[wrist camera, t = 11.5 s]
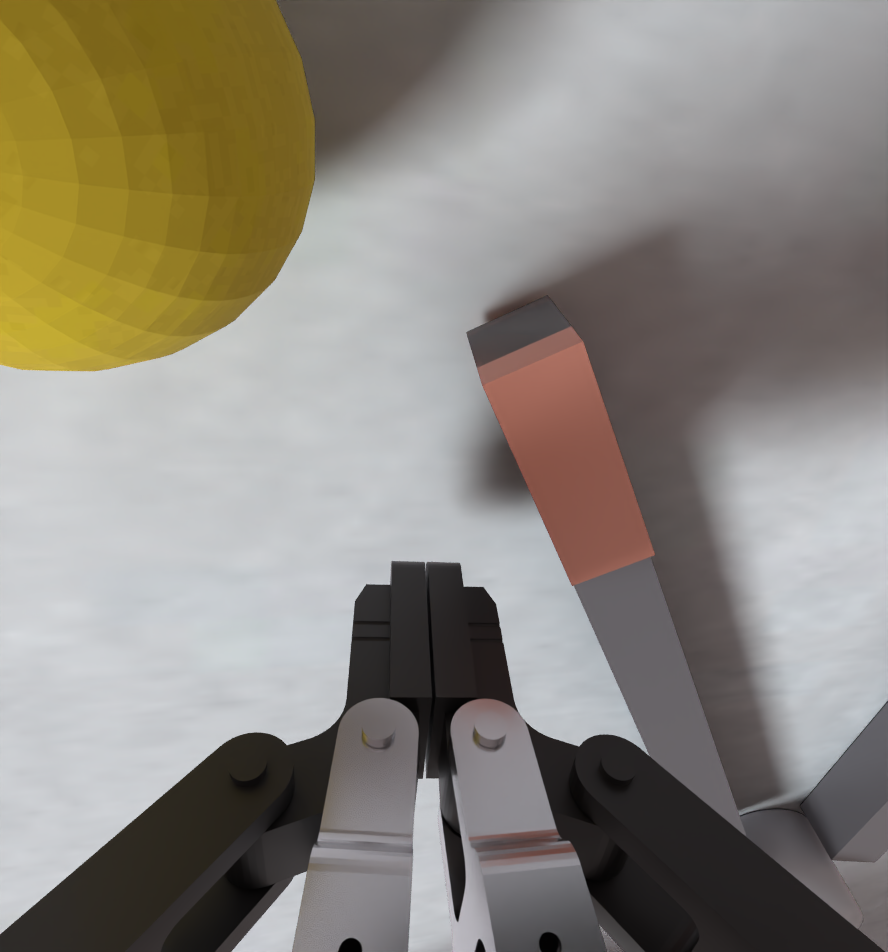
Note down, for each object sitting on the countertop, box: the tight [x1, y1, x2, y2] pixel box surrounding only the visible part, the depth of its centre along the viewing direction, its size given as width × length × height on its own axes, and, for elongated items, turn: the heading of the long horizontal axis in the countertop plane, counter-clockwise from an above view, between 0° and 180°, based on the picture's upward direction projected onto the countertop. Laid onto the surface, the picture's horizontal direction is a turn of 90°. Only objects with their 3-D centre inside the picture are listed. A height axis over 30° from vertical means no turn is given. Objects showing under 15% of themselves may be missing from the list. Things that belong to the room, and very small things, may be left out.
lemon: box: [0, 0, 315, 371], centre depth 8 cm, size 6×6×8 cm
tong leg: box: [466, 295, 747, 837], centre depth 17 cm, size 22×2×3 cm, turn 24°
